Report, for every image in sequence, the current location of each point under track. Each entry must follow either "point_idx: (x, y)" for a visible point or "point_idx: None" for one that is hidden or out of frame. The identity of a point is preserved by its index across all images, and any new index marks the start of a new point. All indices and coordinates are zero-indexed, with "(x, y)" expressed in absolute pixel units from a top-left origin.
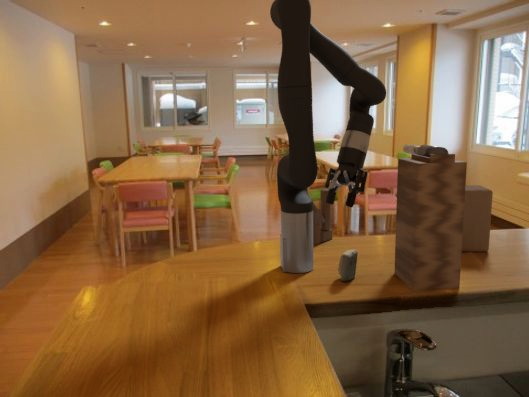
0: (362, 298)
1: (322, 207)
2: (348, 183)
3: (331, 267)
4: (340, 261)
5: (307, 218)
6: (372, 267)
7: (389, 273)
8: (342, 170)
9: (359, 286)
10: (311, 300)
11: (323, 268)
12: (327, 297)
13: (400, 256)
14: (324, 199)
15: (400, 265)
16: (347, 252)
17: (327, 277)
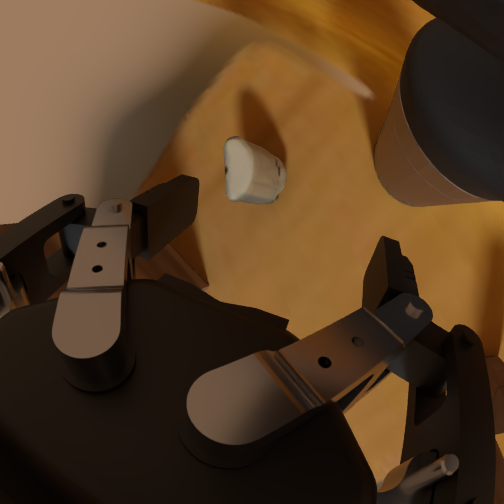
0: (189, 117)
1: (498, 461)
2: (104, 226)
3: (351, 228)
4: (260, 148)
5: (396, 96)
6: (267, 294)
7: (216, 279)
8: (191, 459)
9: (223, 161)
10: (254, 45)
11: (363, 206)
12: (240, 72)
13: (157, 272)
14: (499, 481)
15: (168, 266)
16: (236, 158)
17: (313, 156)
